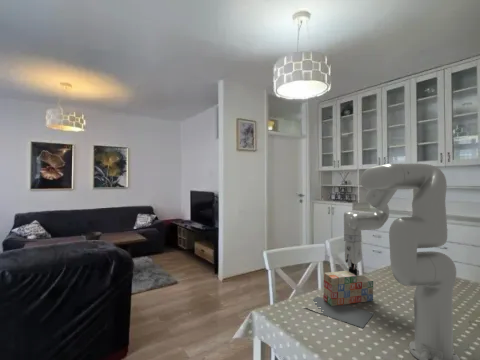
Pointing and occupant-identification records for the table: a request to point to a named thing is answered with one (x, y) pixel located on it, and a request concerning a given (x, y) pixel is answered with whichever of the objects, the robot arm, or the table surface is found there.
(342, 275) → the stack of blocks
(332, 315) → the mat
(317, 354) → the table surface
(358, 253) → the robot arm
